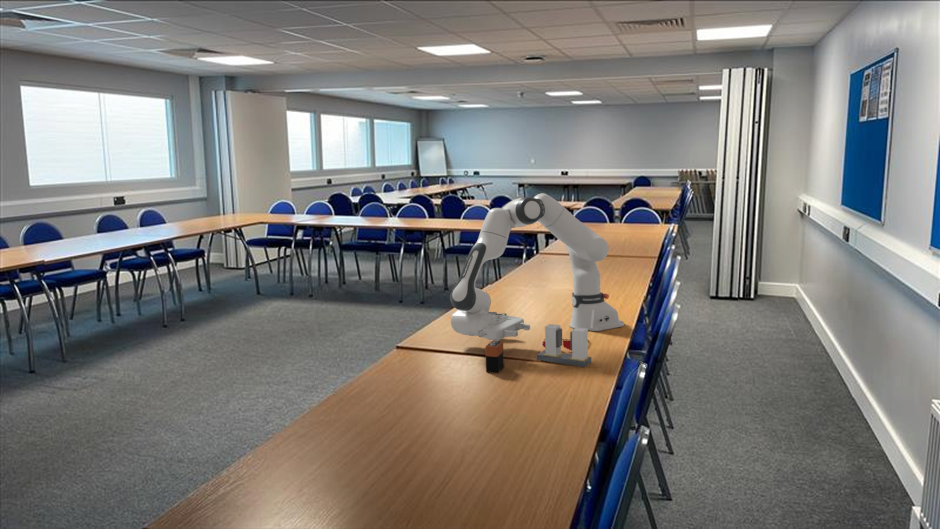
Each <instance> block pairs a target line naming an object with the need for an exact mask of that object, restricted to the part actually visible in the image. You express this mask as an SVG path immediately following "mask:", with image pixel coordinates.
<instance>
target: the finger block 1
mask: <svg viewBox="0 0 940 529" xmlns="http://www.w3.org/2000/svg"><path fill="white" fill-rule="evenodd" d="M544 336H545V337H544V339H545V340H544V341H545V347H544V348H545V354H546V355H553V356H557V355H558V354H560V353H561V352H562V351H561V350H562V346H563V340H562V339H563V328H562V327H561V325H560V324H553V323H549V324H548V325H545V327H544Z"/></svg>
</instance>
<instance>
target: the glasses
mask: <svg viewBox="0 0 940 529" xmlns="http://www.w3.org/2000/svg"><path fill="white" fill-rule="evenodd" d="M588 342H590V340H589V339H588ZM541 345H542V347H543V348H545V338H544V339H543V341H542V344H541ZM562 346H563V348H564V349H566V350H569V351H571V352H572V349H570V340H569V339H567V338H562Z"/></svg>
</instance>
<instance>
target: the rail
mask: <svg viewBox="0 0 940 529" xmlns="http://www.w3.org/2000/svg"><path fill="white" fill-rule="evenodd" d="M539 360H543V361H542V362H545V361H547V363H552V362H553V363H552V364H558V363H560V365H565V364H566V366H571V365H573V366H572V367H578V366H580V368H584V367H585V368H586V367H587V366H589V365H590V364H592V363H591V362H592V360H593V358H592V356H589V355H588V357H587V358H585V359H584V360H579V359H573V358H572V353H567V352H562V351H561V353H560V354H558V355H557V356H553V355H546V354H545V350H542V351H540V352H538V353H537V354H536V361H539ZM588 364H589V365H588Z"/></svg>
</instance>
